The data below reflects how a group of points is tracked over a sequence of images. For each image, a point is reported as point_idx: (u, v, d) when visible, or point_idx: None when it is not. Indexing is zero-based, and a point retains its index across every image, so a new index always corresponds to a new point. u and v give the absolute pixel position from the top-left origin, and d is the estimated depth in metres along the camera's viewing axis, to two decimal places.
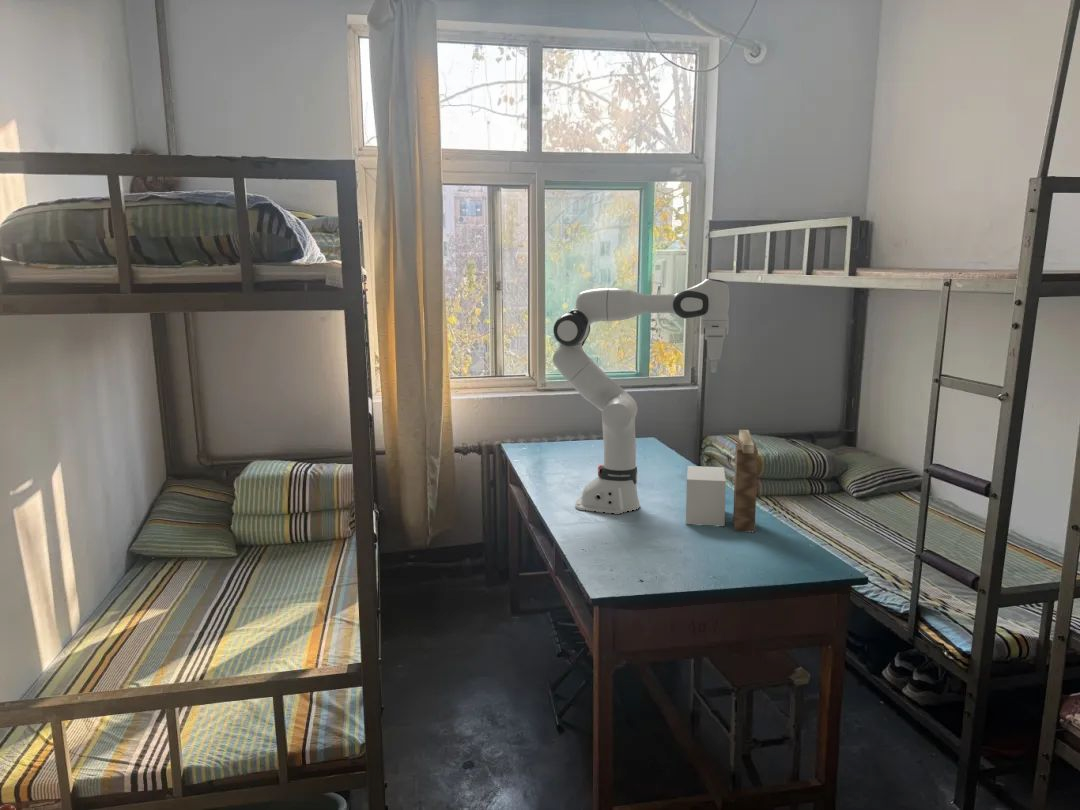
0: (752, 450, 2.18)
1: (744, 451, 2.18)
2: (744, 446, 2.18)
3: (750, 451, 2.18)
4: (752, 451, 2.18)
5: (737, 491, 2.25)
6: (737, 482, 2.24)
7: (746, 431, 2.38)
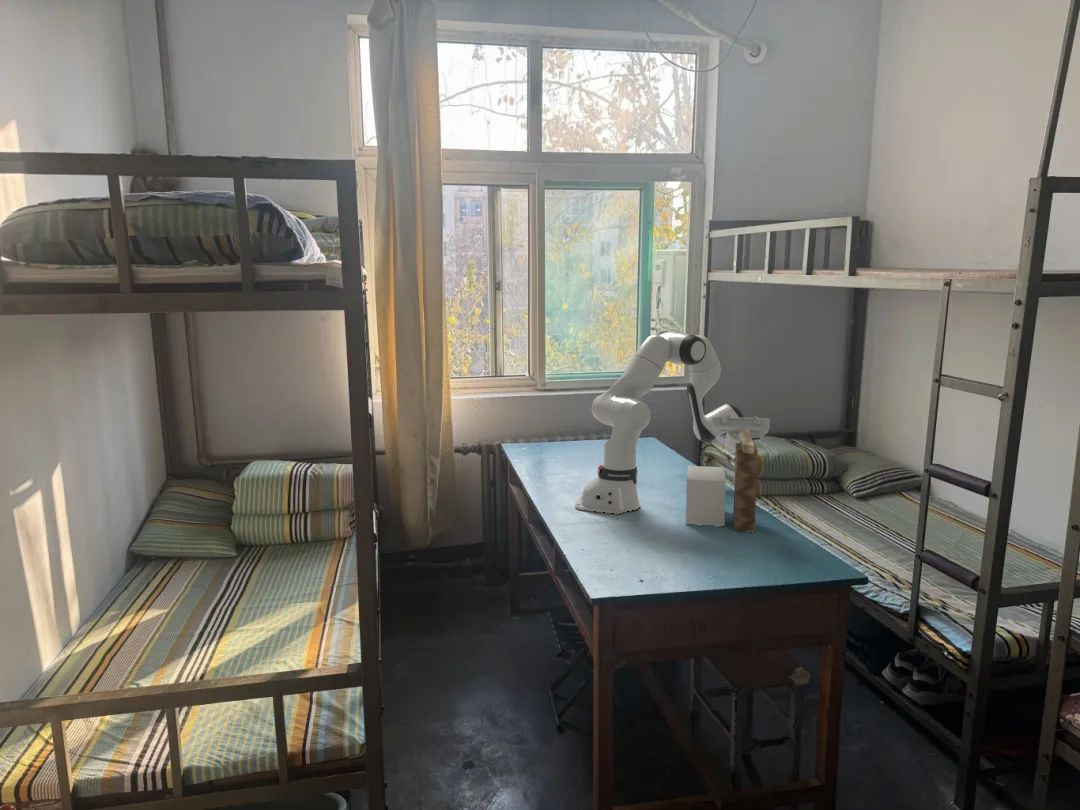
0: (752, 450, 2.18)
1: (744, 451, 2.18)
2: (744, 446, 2.18)
3: (750, 451, 2.18)
4: (752, 451, 2.18)
5: (737, 491, 2.25)
6: (737, 482, 2.24)
7: (746, 431, 2.38)
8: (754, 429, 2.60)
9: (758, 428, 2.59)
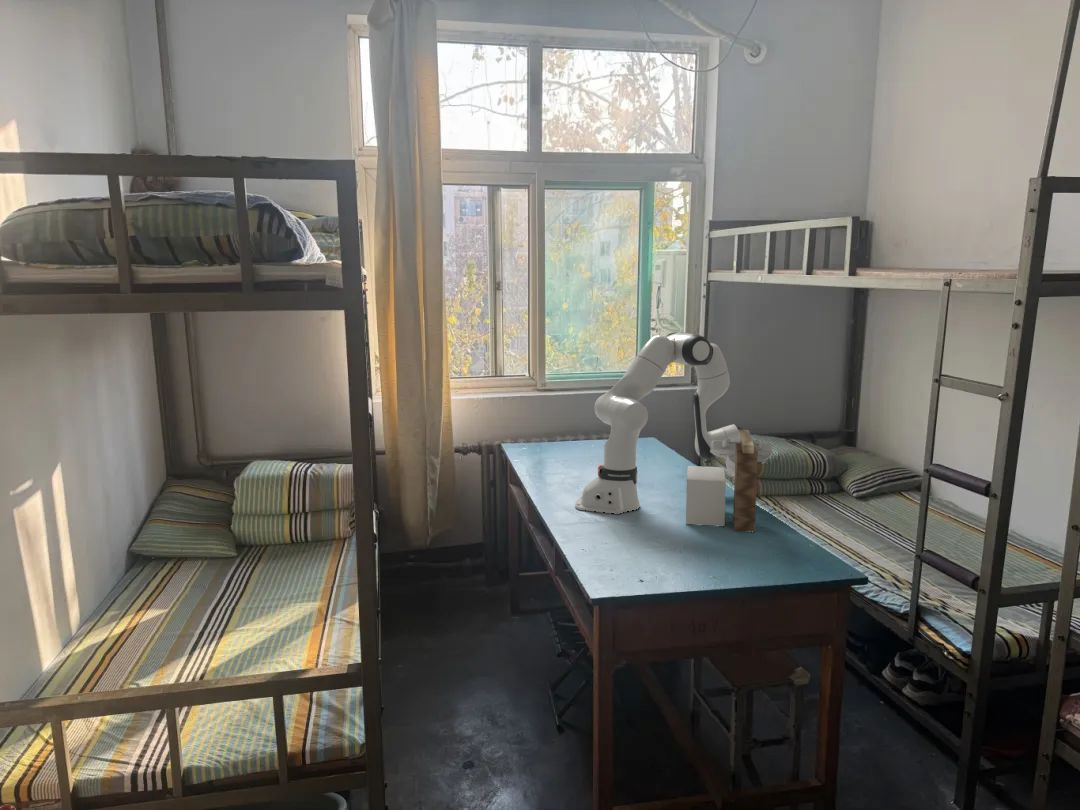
0: (752, 450, 2.18)
1: (744, 451, 2.18)
2: (744, 446, 2.18)
3: (750, 451, 2.18)
4: (752, 451, 2.18)
5: (737, 491, 2.25)
6: (737, 482, 2.24)
7: (746, 431, 2.38)
8: None
9: (760, 452, 2.47)
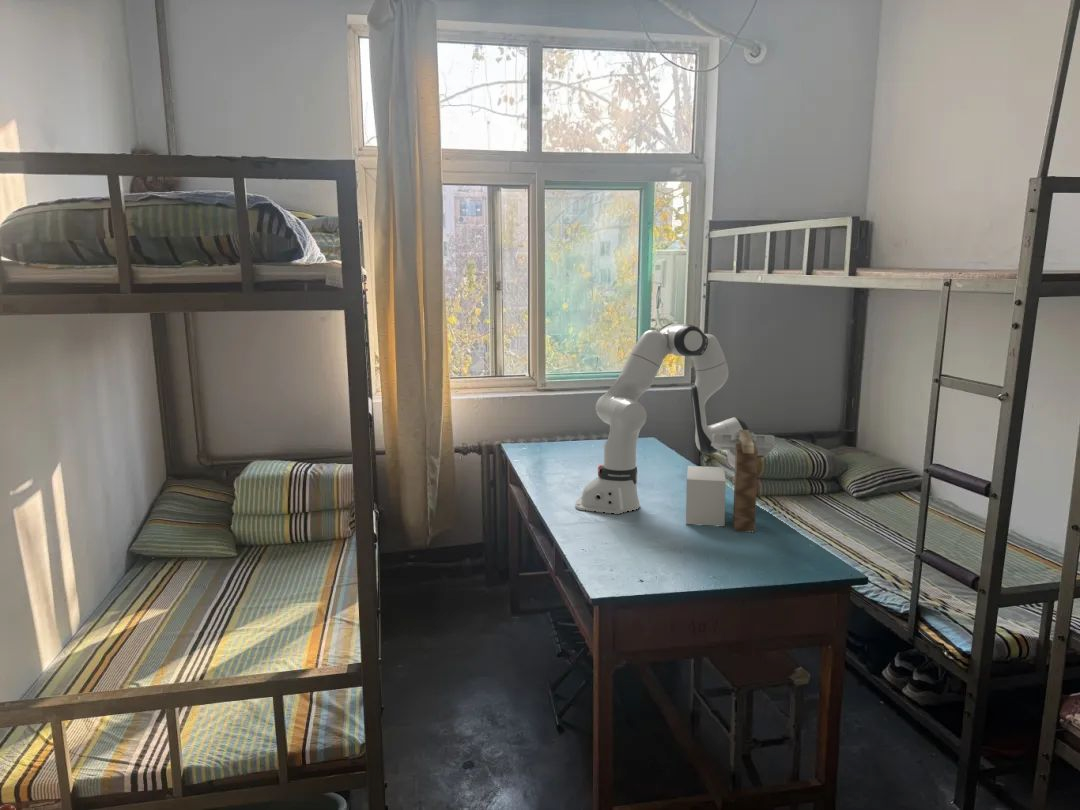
0: (752, 450, 2.18)
1: (744, 451, 2.18)
2: (744, 446, 2.18)
3: (750, 451, 2.18)
4: (752, 451, 2.18)
5: (737, 491, 2.25)
6: (737, 482, 2.24)
7: (746, 431, 2.38)
8: (758, 447, 2.42)
9: (762, 446, 2.41)
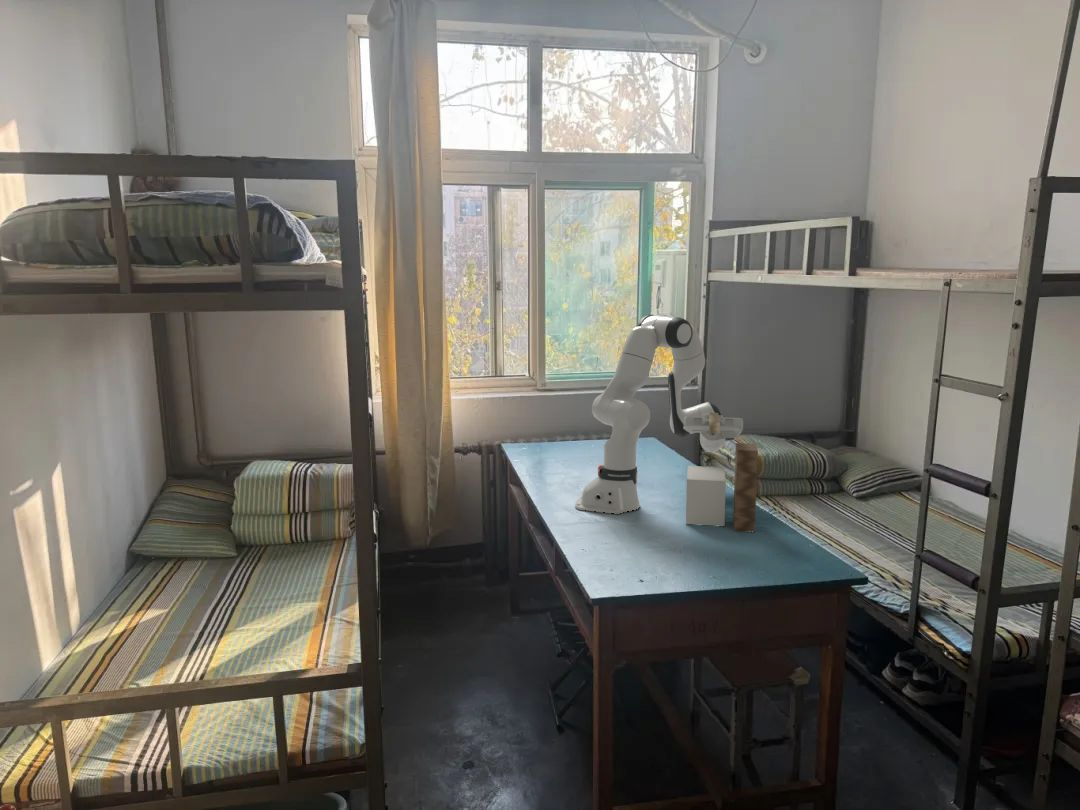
0: (718, 430, 2.29)
1: (711, 431, 2.29)
2: (711, 426, 2.29)
3: (716, 431, 2.29)
4: (718, 431, 2.29)
5: (737, 491, 2.25)
6: (737, 482, 2.24)
7: (715, 414, 2.49)
8: (727, 429, 2.53)
9: (731, 428, 2.52)
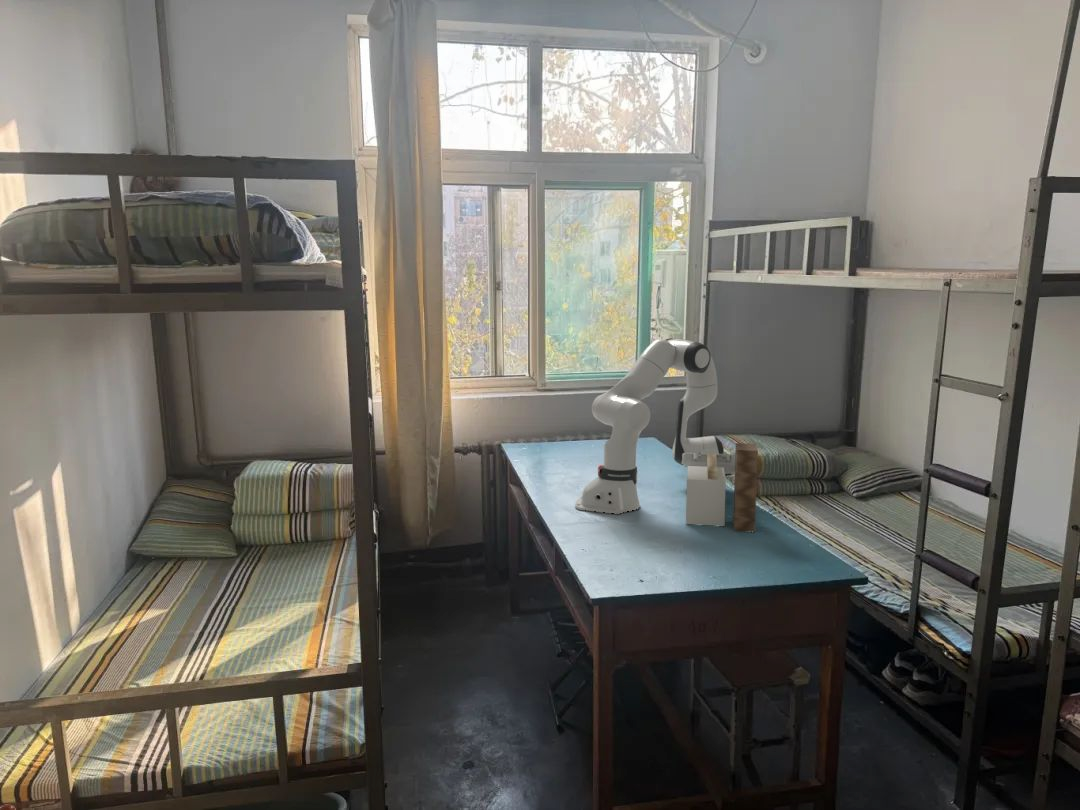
0: (716, 476, 2.31)
1: (708, 477, 2.32)
2: (708, 472, 2.32)
3: (714, 477, 2.32)
4: (716, 477, 2.31)
5: (737, 491, 2.25)
6: (737, 482, 2.24)
7: (713, 456, 2.52)
8: (725, 465, 2.56)
9: (729, 465, 2.54)
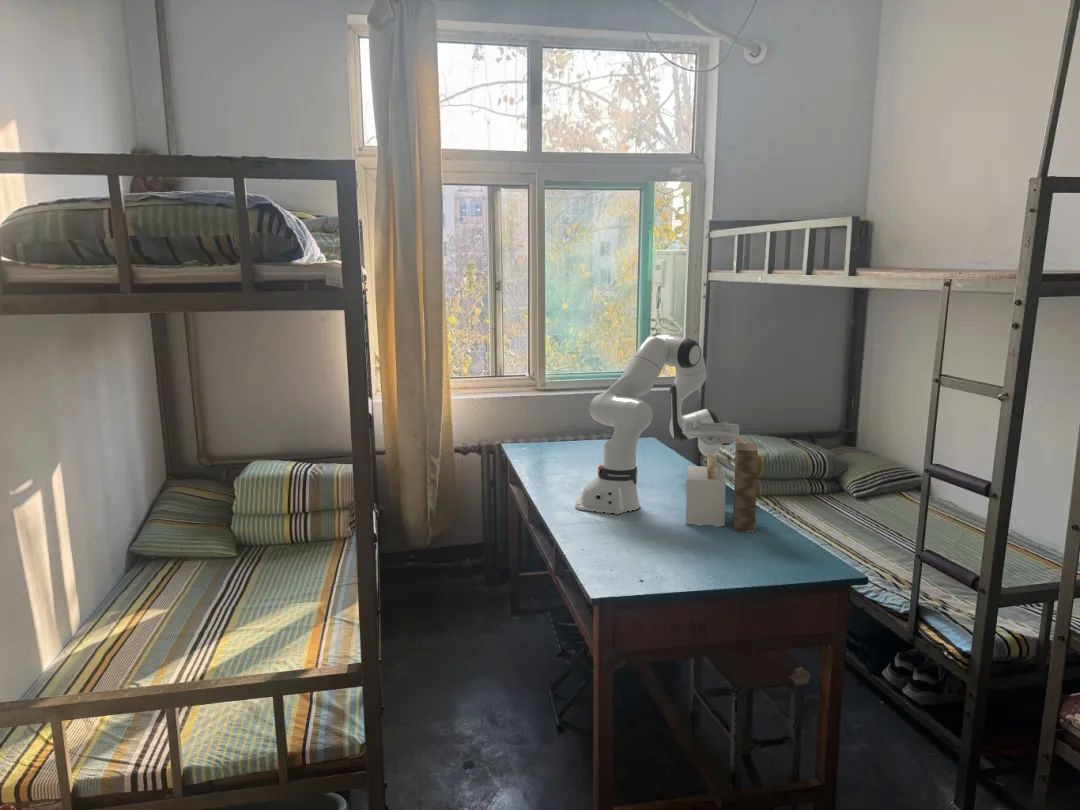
0: (716, 476, 2.31)
1: (708, 477, 2.32)
2: (708, 472, 2.32)
3: (714, 477, 2.32)
4: (716, 477, 2.31)
5: (737, 491, 2.25)
6: (737, 482, 2.24)
7: (713, 456, 2.52)
8: (724, 434, 2.68)
9: (728, 433, 2.66)
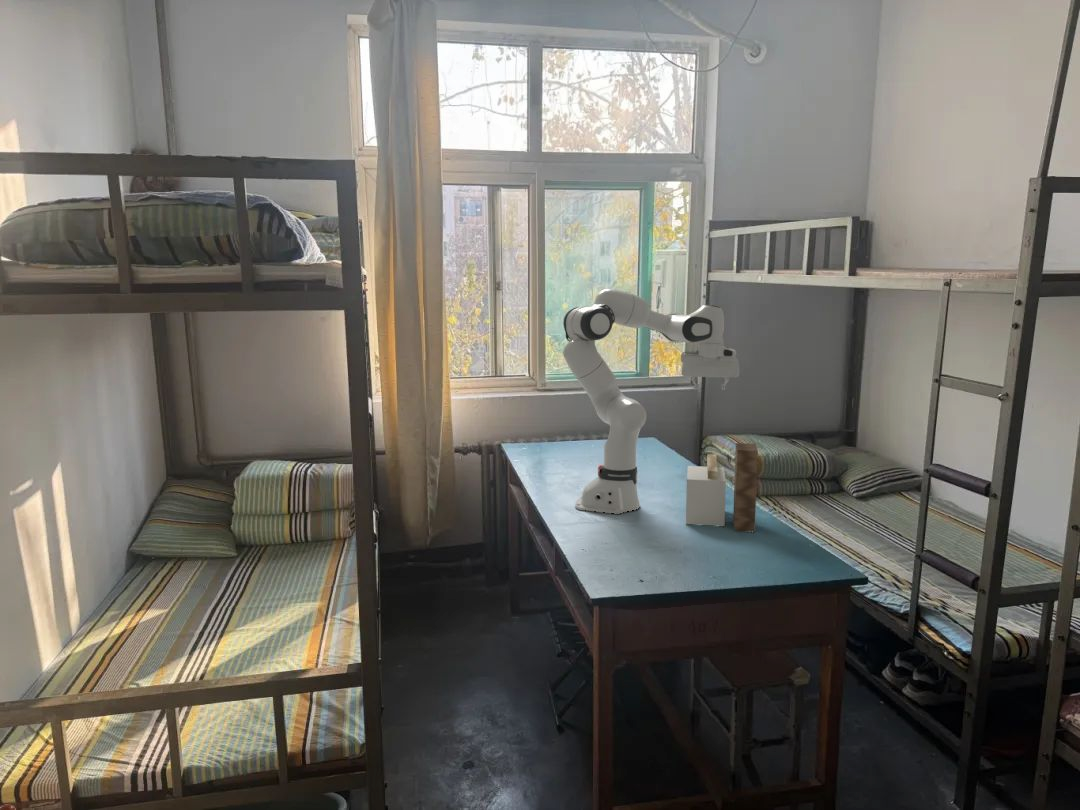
0: (716, 476, 2.31)
1: (708, 477, 2.32)
2: (708, 472, 2.32)
3: (714, 477, 2.32)
4: (716, 477, 2.31)
5: (737, 491, 2.25)
6: (737, 482, 2.24)
7: (713, 456, 2.52)
8: None
9: None
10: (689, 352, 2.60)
